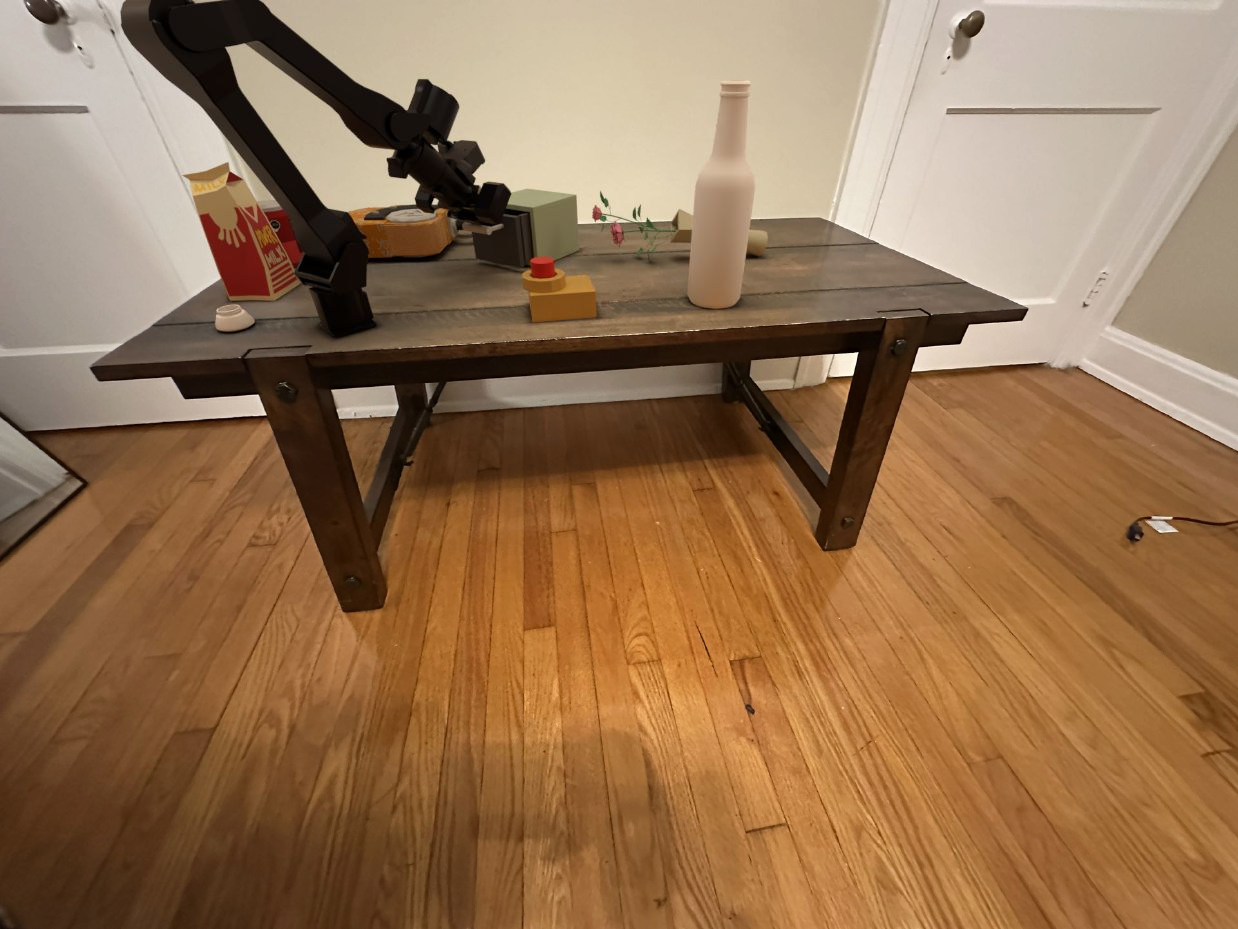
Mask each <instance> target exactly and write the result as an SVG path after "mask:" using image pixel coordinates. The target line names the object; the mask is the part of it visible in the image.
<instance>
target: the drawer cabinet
mask: <svg viewBox="0 0 1238 929" xmlns="http://www.w3.org/2000/svg"><path fill="white" fill-rule="evenodd" d="M577 197H578V196H577V194H574V193H565V192H558V191H550V190H541V189H534V188H524V189H521V190H516V191H511V196H510V199H509V202H508V204H507V207H506V209H512V210H518V211H525V212H530V219H531V230H532V240H533V250H534V258H536V257H551V258H553V259H554V262H555V261H557V260H560V259H562V258H564V257H566V256H569V255H572V254H574V253H576V252H579V251H580V241H579V223H578V222H579V221H578V220H579V219H578V200H577ZM524 265H525V266H530V267H531V263H530V261H527V262H524Z"/></svg>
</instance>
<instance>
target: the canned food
mask: <svg viewBox="0 0 1238 929" xmlns="http://www.w3.org/2000/svg"><path fill="white" fill-rule="evenodd" d="M257 202H258V204H259V206H260V207H261V209H262V210H263V212H264V214H265V215H266V217H267V219H268V221H269V222H270V224H271V226H272V228H273V230H274V231H275V233H276V235H277V237H278V239H279V240H280V242H281V244H282V246H283V248H284V250H285V251H286V253H287V255H288V257H289V259H290V261H291V263H292V265H293V267H294V269H296V268H297V265H298V263H299V261H300V259H301V257H302V254H303V252H304V251H303V249H302V248H301V246H300V244H299V243H298V241H297V239H296V237H295V233H294V229H293V226H292V222H291V220H290V218H289V216H288V215H287V214H286V213H285V211H284V210H283V209H282V208H281V206H280V205H279V204H278V203H277V201H276V200H275V199H267V200H259V201H258V200H257Z"/></svg>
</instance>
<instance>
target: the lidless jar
mask: <svg viewBox="0 0 1238 929" xmlns="http://www.w3.org/2000/svg"><path fill="white" fill-rule="evenodd" d="M214 322H215V323H214V327H215V328H216V330H217V331H221V332H227V333H229V332H238V331H243V330H246V329H248V328H249V327H251V326H252V325H253V324H254V323H255V319H254V317H253V316H252V315H251V314H250V313H249V312H247V310H246V309H243V308H242V306H241V305H239V304H228V305H223V306H219V307H218V308H217V309H216V315H215V321H214Z"/></svg>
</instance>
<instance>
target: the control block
mask: <svg viewBox="0 0 1238 929" xmlns="http://www.w3.org/2000/svg"><path fill="white" fill-rule="evenodd" d="M521 277H522V287H523V290H525V291H526V292H528V302H529V308H530V314H531V320H532V323H543V322H555V321H567V320H581V319H594V318H597V316H598V315H597V291H596V289H595V287H594V285H593V283H592V280H591V278H590V276H589V274H582V275H581V274H580V275H579V274H578V275H566V274H565V271H564V270H562V269H559V268H555V276H554V277H551V278H545V279H538V278H533V277H532V273H531V269H528V270H526V271H524V272H523V273H522V274H521Z"/></svg>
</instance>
